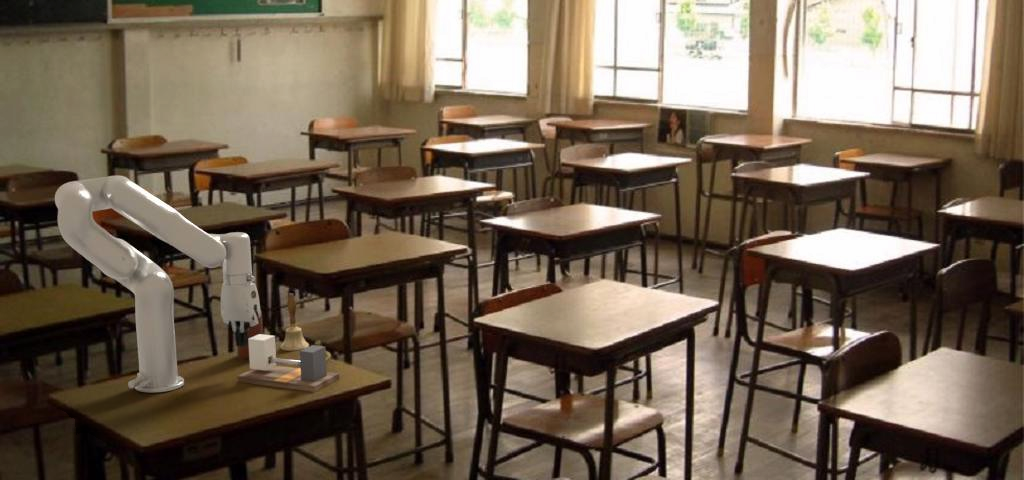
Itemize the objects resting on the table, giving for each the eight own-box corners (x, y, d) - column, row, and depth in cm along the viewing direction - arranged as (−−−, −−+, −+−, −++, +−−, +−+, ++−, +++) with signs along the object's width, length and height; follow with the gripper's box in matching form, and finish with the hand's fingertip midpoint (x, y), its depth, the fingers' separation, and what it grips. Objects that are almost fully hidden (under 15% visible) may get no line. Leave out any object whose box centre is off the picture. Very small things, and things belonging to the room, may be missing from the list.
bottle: (267, 353, 358) (262, 267, 353) (259, 360, 350) (254, 273, 346) (242, 352, 358) (238, 267, 354) (234, 359, 351) (229, 273, 347)
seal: (325, 372, 343) (334, 355, 358) (327, 355, 342) (335, 340, 357) (292, 368, 344) (302, 352, 358) (293, 352, 343) (303, 336, 357)
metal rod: (305, 367, 328) (305, 362, 328) (253, 361, 335) (253, 356, 334) (308, 366, 329) (308, 361, 329) (256, 359, 336) (256, 354, 336)
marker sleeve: (265, 370, 331) (263, 340, 330) (249, 368, 333) (248, 338, 332) (276, 365, 336) (274, 335, 334) (261, 363, 338) (259, 334, 336)
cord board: (314, 392, 321) (314, 385, 321) (237, 381, 331) (237, 375, 331) (339, 378, 332) (339, 372, 332) (264, 369, 342) (264, 363, 342)
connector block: (314, 382, 325) (312, 352, 323) (301, 380, 326) (299, 350, 325) (326, 375, 330) (325, 346, 329) (313, 374, 332) (312, 345, 330)
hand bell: (285, 352, 358) (282, 298, 355) (276, 345, 365) (273, 292, 362) (312, 348, 362) (310, 294, 359) (303, 341, 369) (301, 289, 366)
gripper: (269, 278, 333) (273, 344, 337) (223, 274, 339) (227, 339, 343) (252, 284, 326) (257, 351, 330) (206, 279, 332) (210, 346, 336)
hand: (242, 345), depth 336 cm, fingers closed
